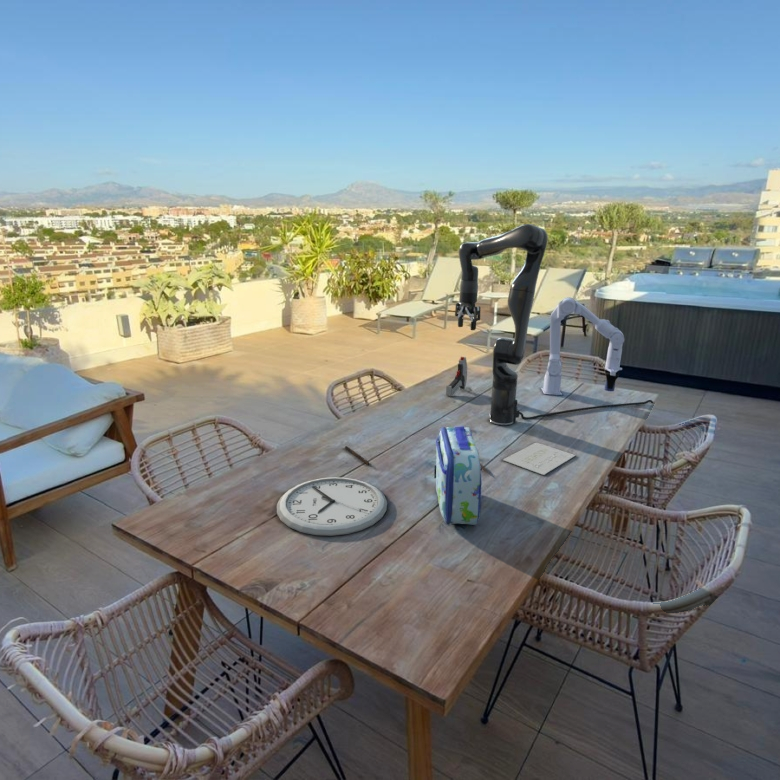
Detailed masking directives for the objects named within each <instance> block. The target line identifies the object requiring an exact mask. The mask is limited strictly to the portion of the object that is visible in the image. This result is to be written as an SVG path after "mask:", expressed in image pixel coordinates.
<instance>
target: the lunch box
mask: <svg viewBox="0 0 780 780" xmlns="http://www.w3.org/2000/svg"><path fill="white" fill-rule="evenodd" d="M435 444H436V448H435V449H436V452H435V454H436V456H435V463H436V464H434V474H433V475H434V479H435V491H436V495H437V502H438V508H439V511H440V515H441V517H442V519H443V521H444V523H445V524H446V525H448V526H449V525H454V524H456V525H457V524H459V525H460V524H461V525H470V526H471V525H473V526H474V525H475V526H476V525H477V524H478V523H479V520H480V516H481V515H480V514H481V503H482V469H481V467H480V464H481V463H480V455H479V450H478V448H477V446H476V443H475V441H474V437H473V433H472V430H471V428H470V427H469V426H468V427H465V426H463V425H462V426H461V425H460V426H454V427H453V426H452V427H450V426H449V427H445V426H442V427H440V431H439V432H438V437H437V438H436V440H435Z"/></svg>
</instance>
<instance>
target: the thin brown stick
mask: <svg viewBox="0 0 780 780" xmlns="http://www.w3.org/2000/svg"><path fill="white" fill-rule="evenodd" d="M344 449H345V450H346V451H348V452H349V453H350V454H352V455H353V456H355V457H356V458H358V459H359V460H361V461H362V462H363V463H364V464H366V465H370V461H368V460H367V459H366V458H364V457H363V456H361V455H360V454H358V453H357V452H356V451H354V450H353V449H352V448H350V447H348V446H347V445H345V446H344Z"/></svg>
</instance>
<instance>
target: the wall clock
mask: <svg viewBox="0 0 780 780" xmlns="http://www.w3.org/2000/svg"><path fill="white" fill-rule="evenodd" d="M387 509H388V500H387V498H386V496H385V494H384V493H383V492H382V491H381V490H380V489H379V488H377V487H376V486H374V485H372V484H371V483H369V482H365V481H362V480H359V479H355V478H349V477H338V476H337V477H335V476H333V477H332V476H331V477H322V478H317V479H312V480H307V481H305V482H302V483H299V484H297V485H295V486H293V487H292V488H290V489H288V490H287V491H286V492H285V493H284V494H283V495H281V496H280V498H279V499H278V502H277V503H276V515H277V517H278V518H279V520H280V521H281V522H282V523H283V524H285V525H286V526H287V527H288V528H290V529H293V530H295V531H297V532H299V533H303V534H308V535H312V536H327V537H328V536H329V537H331V536H332V537H333V536H342V535H350V534H352V533H356V532H361V531H363V530H366V529H368V528H369V527H372V526H373V525H375V524H376V523H378V522H379V521H380V520H381V519H382V518H383V517H384V516H385V514H386V512H387Z"/></svg>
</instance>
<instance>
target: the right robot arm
mask: <svg viewBox="0 0 780 780" xmlns="http://www.w3.org/2000/svg"><path fill="white" fill-rule="evenodd" d="M571 314H574V315H580V316H582V317H583V318H585V319H586V320H588V321H589V322H590V323H592V324H593V325H594V329H595V330H596V331H597V332H598V333H599V334H600V335H602V336H603V337H604V338H605V339H609V344H608V348H607V354H606V360H605V361H606V362H605V366H604V372H605V373H604V374H605V381H606V380H607V388H608V389H612V388H613V386H614V383H615V384H616V381H617V380H618V378H619V376H620V374H618V373H619V371H622V370H623V367H620V366H621V361H622V360H621V359H622V354H623V346H624V345H623V344H624V343H625V340H626V339H625V335H624V333H623V332H622V331H621V330H620V329H619V328H618V327H615V326H614V325H613V324H612V323H611V321H610V320H609V319H605V318H601V319H600V318H599V317H598V316H596V315H595V314H594V313H593V312H592V311H591V310H590V309H589V308H587V307H586V306H585V305H584V304H582V303H580V302H579V301H577V300H576V299H574V298H572V297H569V296H568V297H564V298H563V299H562V300H561V301H559V302H558V304H557V305H556V307H555V308H554V310H553V311H552V312H551V314H550V318H549V361H548V362H547V368H546V372H545V375H544V379H543V387H541V388H540V389H541V391H542V392H543V394H544V395H551V396H552V395H553V396H563V393H562V392H561V385H562V379H563V377H562V376H563V372H562V369H563V368H562V367H563V362H562V360H561V325H562V324H561V321H562V320H563V319H564V318H565V317H566V316H569V315H571Z"/></svg>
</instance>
